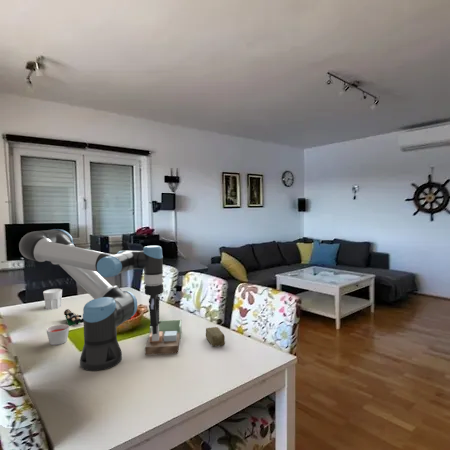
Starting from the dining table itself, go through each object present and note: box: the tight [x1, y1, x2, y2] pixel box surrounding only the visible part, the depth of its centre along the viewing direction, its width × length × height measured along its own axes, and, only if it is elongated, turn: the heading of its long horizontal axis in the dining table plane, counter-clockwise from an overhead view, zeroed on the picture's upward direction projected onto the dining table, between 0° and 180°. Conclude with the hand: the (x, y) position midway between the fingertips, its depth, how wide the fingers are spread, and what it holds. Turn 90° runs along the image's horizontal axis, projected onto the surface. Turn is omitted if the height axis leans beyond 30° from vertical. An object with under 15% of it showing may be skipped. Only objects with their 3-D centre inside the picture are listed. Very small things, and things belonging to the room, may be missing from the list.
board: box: [144, 333, 181, 355], centre depth 138 cm, size 13×14×3 cm
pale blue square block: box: [164, 331, 177, 341], centre depth 139 cm, size 5×5×2 cm
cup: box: [42, 288, 63, 310], centre depth 196 cm, size 10×10×10 cm
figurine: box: [63, 308, 84, 327], centre depth 170 cm, size 8×6×15 cm
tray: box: [149, 319, 183, 340], centre depth 150 cm, size 14×9×6 cm, turn 95°
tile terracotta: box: [148, 331, 163, 342], centre depth 139 cm, size 5×5×2 cm
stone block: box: [205, 326, 226, 347], centre depth 143 cm, size 6×12×5 cm, turn 19°
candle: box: [45, 324, 70, 346], centre depth 145 cm, size 9×9×6 cm
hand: (155, 340), depth 135 cm, fingers closed
